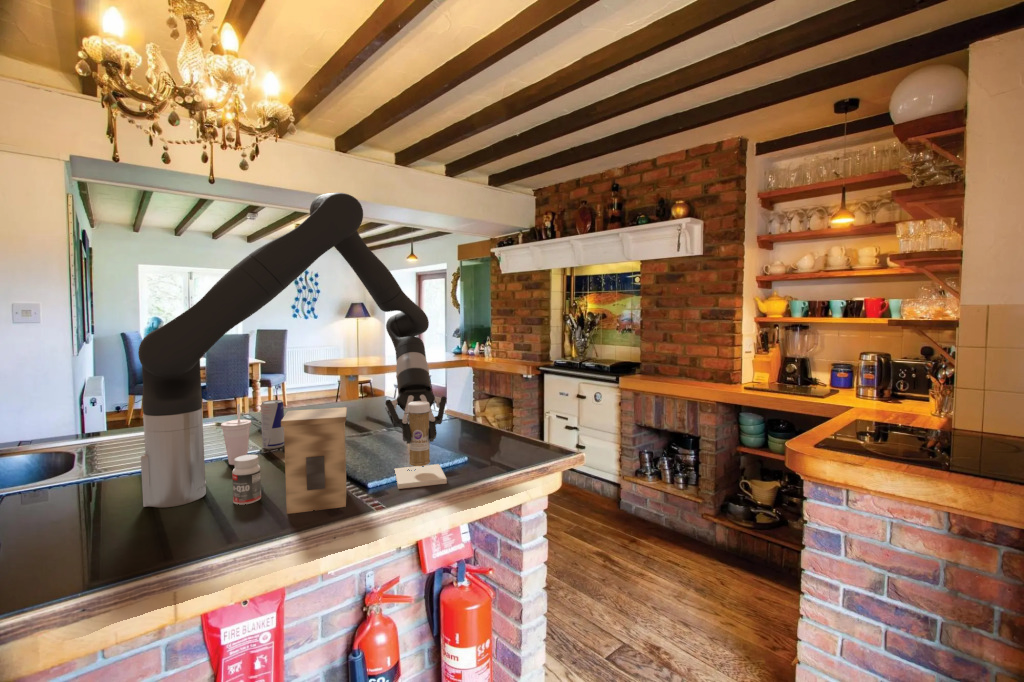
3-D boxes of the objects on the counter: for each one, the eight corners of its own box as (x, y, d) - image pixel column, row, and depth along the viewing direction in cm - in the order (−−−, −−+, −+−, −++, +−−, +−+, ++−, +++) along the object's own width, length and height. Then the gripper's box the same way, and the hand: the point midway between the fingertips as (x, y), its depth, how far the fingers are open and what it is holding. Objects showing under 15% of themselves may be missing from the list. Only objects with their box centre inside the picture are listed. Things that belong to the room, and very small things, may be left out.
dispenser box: (284, 515, 86) (280, 421, 84) (290, 496, 94) (287, 410, 93) (348, 507, 89) (345, 416, 88) (348, 490, 97) (346, 407, 96)
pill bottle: (227, 504, 90) (225, 460, 90) (244, 494, 95) (243, 453, 94) (250, 506, 90) (248, 462, 89) (266, 496, 94) (265, 454, 94)
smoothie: (251, 464, 113) (249, 405, 112) (219, 468, 111) (217, 408, 110) (254, 456, 119) (252, 401, 118) (224, 459, 117) (222, 402, 116)
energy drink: (289, 445, 129) (287, 401, 128) (270, 450, 124) (268, 404, 123) (277, 442, 132) (275, 399, 131) (258, 447, 127) (256, 402, 126)
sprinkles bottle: (410, 468, 101) (408, 405, 100) (408, 461, 106) (407, 400, 105) (431, 465, 103) (430, 403, 102) (429, 459, 107) (428, 399, 106)
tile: (398, 488, 98) (398, 484, 98) (394, 472, 108) (394, 468, 107) (446, 483, 101) (446, 478, 101) (439, 468, 111) (438, 464, 111)
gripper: (381, 367, 108) (386, 434, 97) (445, 365, 112) (456, 429, 101) (381, 387, 113) (385, 452, 102) (441, 384, 117) (451, 446, 107)
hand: (420, 440), depth 102 cm, fingers closed on sprinkles bottle, 4 cm apart
